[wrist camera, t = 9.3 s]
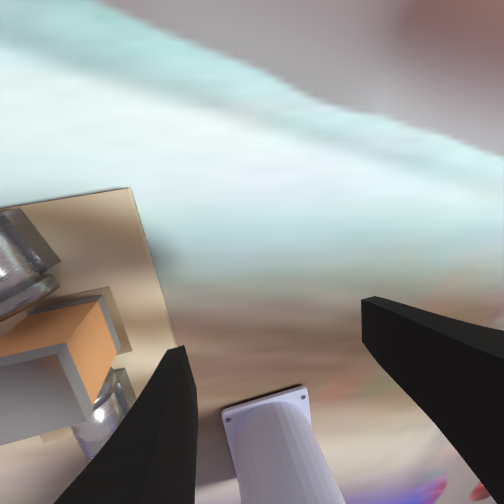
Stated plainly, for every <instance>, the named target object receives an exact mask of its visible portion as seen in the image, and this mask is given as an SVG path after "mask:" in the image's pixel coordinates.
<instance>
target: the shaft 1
mask: <svg viewBox="0 0 504 504" xmlns="http://www.w3.org/2000/svg"><path fill="white" fill-rule="evenodd" d="M59 262H61V260H60V259H59V257H58V256H57V255H56V253H55V252H54V251H53V250H52V248H51V247H50V246H49V244H48V243H47V242H46V240H45V239H44V238H43V237H42V235H41V234H40V233H39V231H38V230H37V229H36V227H35V226H34V225H33V224H32V222H31V221H30V220H29V218H28V217H27V216H26V214H25V213H24V212H23V211H22V209H21V208H20V209H15V210H10V211H5V212H1V213H0V322H2V321H4V320H6V319H8V318H10V317H12V316H14V315H16V314H18V313H20V312H22V311H23V310H25V309H27V308H29V307H30V306H32V305H34V304H35V303H37V302H39V301H40V300H42V299H43V298H45V297H46V296H48V295H49V294H51V293H52V292H54V291H55V290H56V289H57V288H59V286H60V284H59V282H58V281H57V280H56V279H55V277H54V276H53V275H52V274H51V273H50V274H47V275H44V276H42V275H41V273H42V272H44V271H46V270H48V269H50V268H51V267H53V266H54V265H56V264H58V263H59Z"/></svg>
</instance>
